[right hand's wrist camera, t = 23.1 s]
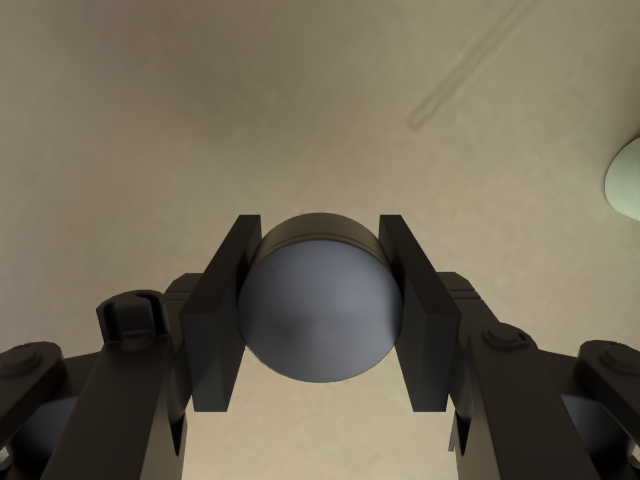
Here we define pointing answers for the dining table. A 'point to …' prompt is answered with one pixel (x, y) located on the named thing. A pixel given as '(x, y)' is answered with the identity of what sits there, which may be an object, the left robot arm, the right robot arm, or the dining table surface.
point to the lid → (320, 299)
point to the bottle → (625, 181)
